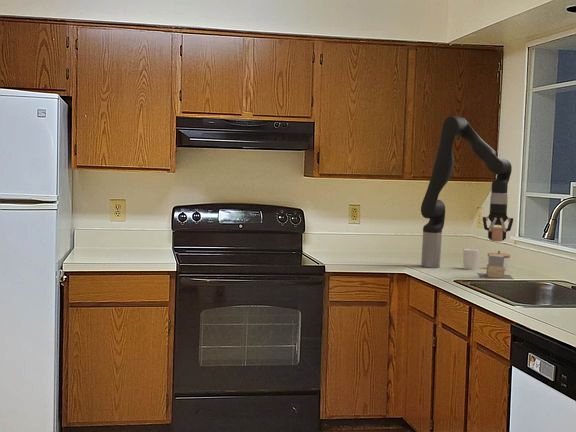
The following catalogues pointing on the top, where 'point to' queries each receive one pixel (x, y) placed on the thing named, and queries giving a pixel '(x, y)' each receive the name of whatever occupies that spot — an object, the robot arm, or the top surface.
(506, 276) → the charcoal mat
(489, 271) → the maple block
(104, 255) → the top surface
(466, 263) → the white cup
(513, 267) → the top surface
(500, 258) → the grey block
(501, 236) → the terracotta cylinder
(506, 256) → the lidded jar
